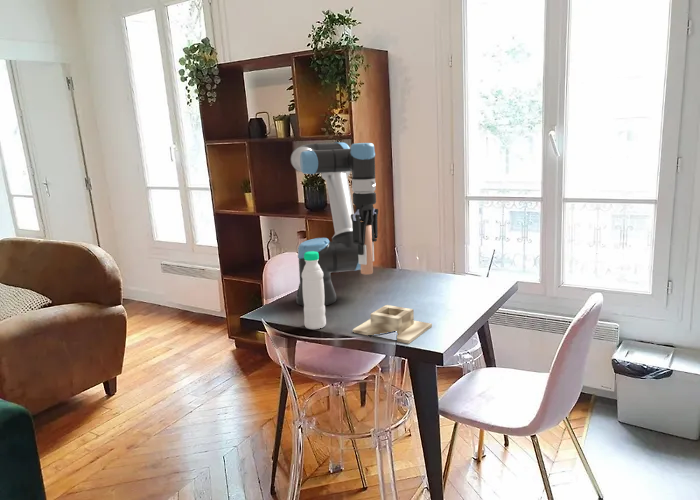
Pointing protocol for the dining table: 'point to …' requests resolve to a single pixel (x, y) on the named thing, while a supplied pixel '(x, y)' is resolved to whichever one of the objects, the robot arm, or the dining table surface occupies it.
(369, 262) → the dowel
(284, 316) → the dining table surface
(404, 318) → the socket block
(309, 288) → the water bottle
